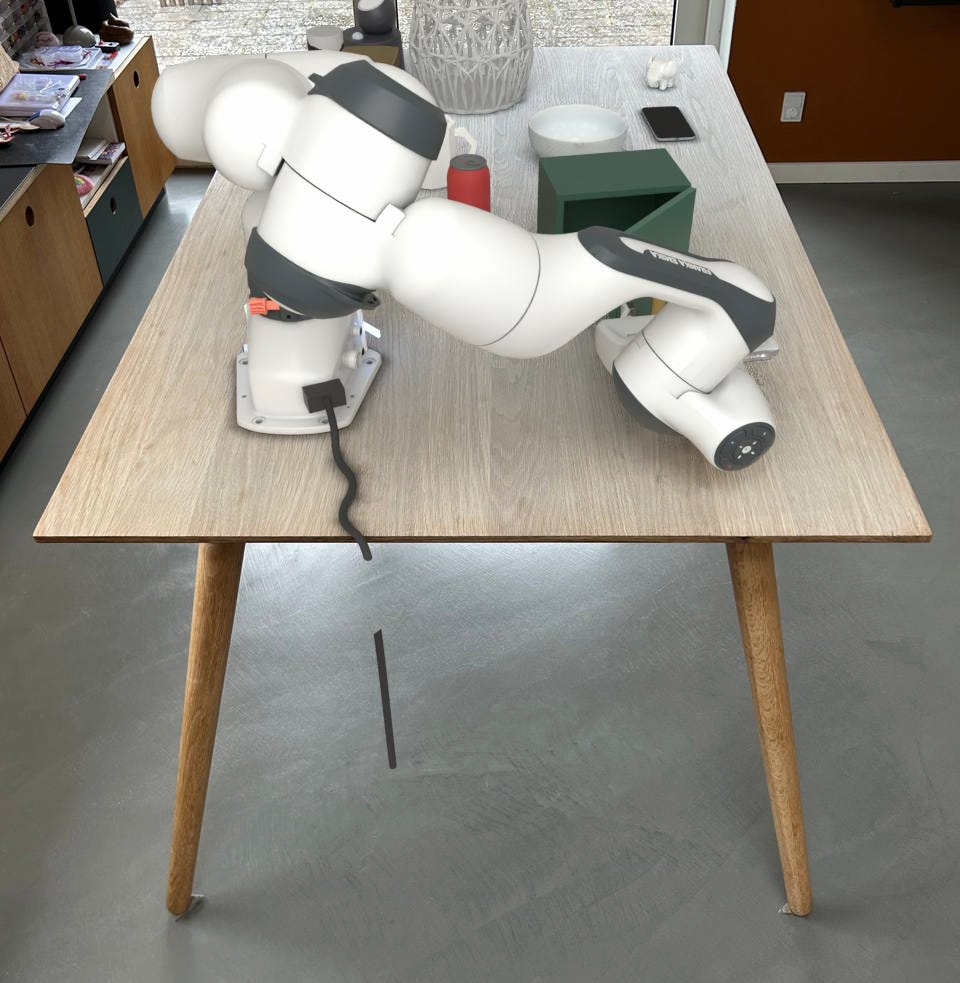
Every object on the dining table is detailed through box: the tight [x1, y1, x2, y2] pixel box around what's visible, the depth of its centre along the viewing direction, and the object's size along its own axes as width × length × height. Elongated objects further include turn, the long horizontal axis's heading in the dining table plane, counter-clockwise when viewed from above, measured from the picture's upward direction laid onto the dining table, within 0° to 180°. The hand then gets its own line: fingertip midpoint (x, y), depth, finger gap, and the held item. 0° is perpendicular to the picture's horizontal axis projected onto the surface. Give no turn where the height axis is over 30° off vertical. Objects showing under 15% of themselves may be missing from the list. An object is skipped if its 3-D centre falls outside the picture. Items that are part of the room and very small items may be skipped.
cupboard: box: [536, 147, 692, 235], centre depth 146 cm, size 12×18×17 cm, turn 99°
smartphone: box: [640, 105, 696, 142], centre depth 195 cm, size 7×1×15 cm
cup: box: [305, 25, 344, 51], centre depth 198 cm, size 7×7×15 cm
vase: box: [408, 0, 535, 115], centre depth 199 cm, size 24×24×30 cm
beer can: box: [446, 153, 491, 213], centre depth 159 cm, size 7×7×12 cm
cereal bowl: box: [527, 103, 628, 158], centre depth 182 cm, size 17×17×7 cm
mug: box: [421, 113, 479, 191], centre depth 176 cm, size 12×9×10 cm
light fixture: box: [342, 0, 406, 72], centre depth 211 cm, size 13×16×14 cm
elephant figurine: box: [645, 54, 679, 91], centre depth 209 cm, size 7×8×6 cm
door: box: [608, 186, 697, 319], centre depth 135 cm, size 6×18×17 cm, turn 142°
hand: (663, 304), depth 130 cm, fingers open, 8 cm apart
